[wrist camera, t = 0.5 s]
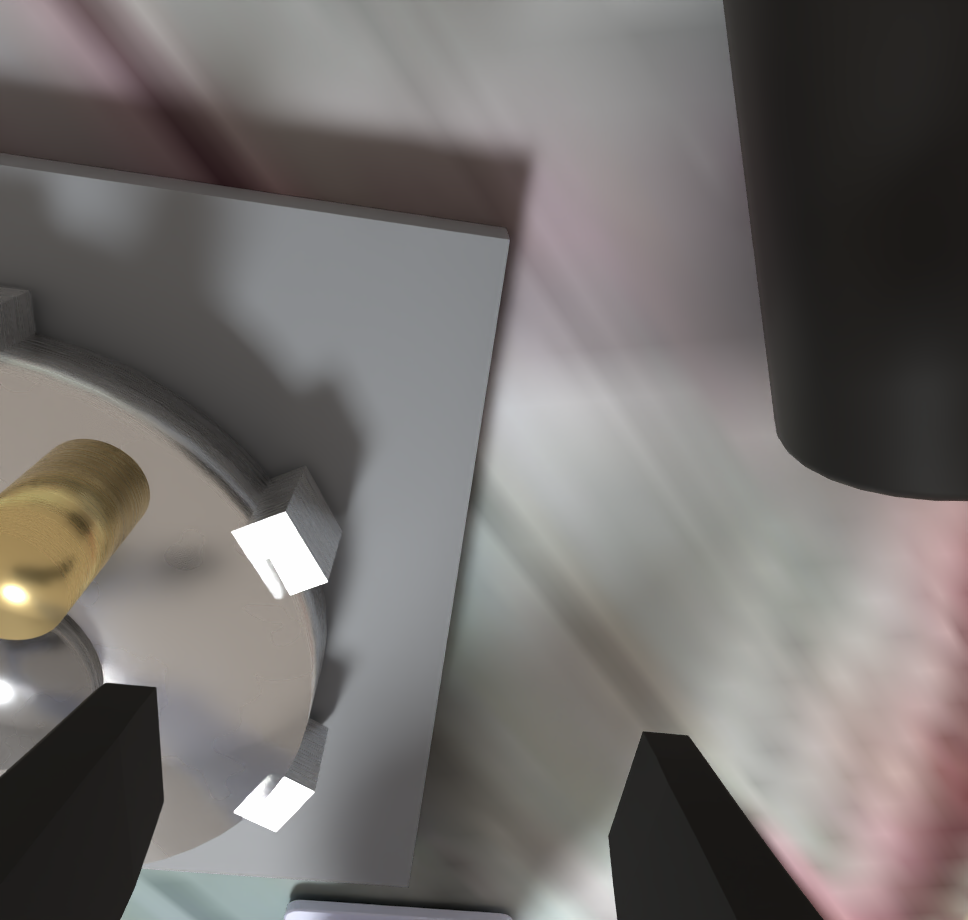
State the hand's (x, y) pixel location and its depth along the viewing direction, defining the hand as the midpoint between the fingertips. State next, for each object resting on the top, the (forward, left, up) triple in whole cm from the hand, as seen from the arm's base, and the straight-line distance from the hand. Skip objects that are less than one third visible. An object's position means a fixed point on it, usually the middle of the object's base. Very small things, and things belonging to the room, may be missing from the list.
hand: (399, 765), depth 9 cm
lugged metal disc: (-4, +9, -8) cm, 13 cm away
